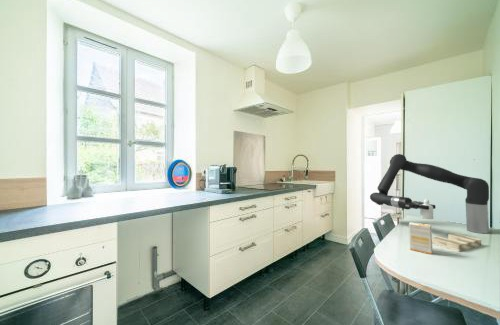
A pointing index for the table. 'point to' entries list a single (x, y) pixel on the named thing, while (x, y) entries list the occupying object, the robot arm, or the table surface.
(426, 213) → the eye dropper bottle
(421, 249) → the supplement box
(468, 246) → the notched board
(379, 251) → the table surface
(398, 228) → the table surface
